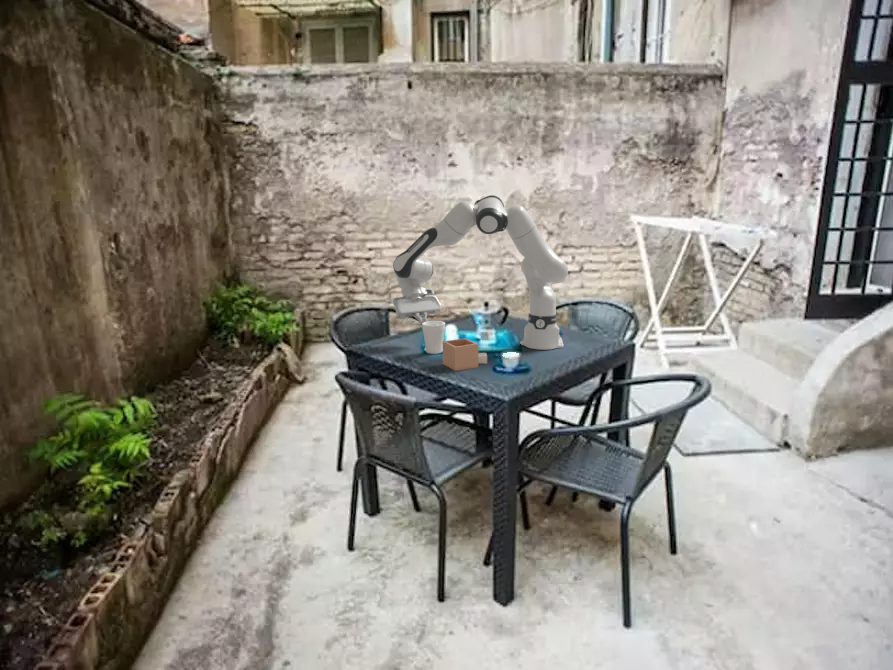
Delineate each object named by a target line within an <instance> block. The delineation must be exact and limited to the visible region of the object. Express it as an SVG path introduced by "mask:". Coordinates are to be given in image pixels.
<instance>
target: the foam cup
mask: <svg viewBox="0 0 893 670" xmlns="http://www.w3.org/2000/svg"><path fill="white" fill-rule="evenodd" d="M421 326H422V328H421V330H422V333H423V338H424V339H423V340H424V345H425V346H424V347H425V352H426V354H431V355H432V354H433V355H435V354H440V353H443V341H444V337H445V336H444V335H445V331H446V322H445V321H441V320H427V322H423V323H421Z"/></svg>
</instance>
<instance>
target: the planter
mask: <svg viewBox="0 0 893 670" xmlns="http://www.w3.org/2000/svg"><path fill="white" fill-rule="evenodd" d="M478 353H479V343H478V342H475V341H473V340H470V339H468V338H466V337H464V338H457V339H450V340H443V348H442V365H444V366H446V367H447V368H450V369H451V370H453V371H454V372H458V371H463V370H469V369H474V368H475V369H476V368H479V364H478Z"/></svg>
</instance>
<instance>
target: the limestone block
mask: <svg viewBox="0 0 893 670" xmlns="http://www.w3.org/2000/svg"><path fill="white" fill-rule="evenodd" d="M481 364H482V365H483V364H485V365H486V364H488V354H487V352H478V365H481Z"/></svg>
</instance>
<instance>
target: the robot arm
mask: <svg viewBox="0 0 893 670" xmlns="http://www.w3.org/2000/svg"><path fill="white" fill-rule="evenodd" d="M474 226H476V227H477V228H478V230H479V231H480V232H481V233H483V234H485V235H493V234H494V235H495V234H496V233H499V232H504V231H505V230H506V232H507V234H508V235H509V236H510V238H511V241H512V242H513V245H515V248H516V249H517V251H518V253H519V254H520V255H521V256H522V257H524V258H523V259H522V261H521V264H520V270H521V272H522V274H523V275H524V278H525V281H526V284H527V289H528V293H529V313H528V316H527V318H528V320H527V321H528V323H526V325H525V326H524V334H523V340H521V341H519V345H520V344H521V346H524V347H526V348H529V349H531V350H533V349H534V350H541V351H542V350H546V351H547V350H554V349H560V348H561V349H562V348H564V343H563V339H562V336H561V335H560V327H559V326H558V324H557V321H558V320H557V319H558V318H557V315H558V314H557V312H556V311H557V309H556V308H557V295H556V293H555V291H554V290H553V286H552V285H553V284H560V283H562V282H564V281H565V280H566V279H567V277H568V275H569V266H568V264H566V262H565V261H564V260H562V259H561V258H560V257H559V256H558V255H557V253H555V251H554V250H553V249H552V248H551V247H550V245H549V244H548V243H547V242H546V241H545V239H544V238H543V236H542V233H541V232H540V231H539V229H538V227H537V225H536V223H535V221H534V220H533V218H532V217H531V215H530V214H529V212H528V211H527V210H526V209H525V207H524V206H522V205H520V204H513V205H511V206H508V207H505V205H504V202H503V200H502V199H501V198H500V197H498V196H496V195H491V194H490V195H487V196H484V197H482V198H480V199H478V200H477V199H476V201H475V202H474V203H472V202H470V201H468V200H461V201H460V202H458V203H457V204H455V206H453V208H451V209H450V211H448V213H447V214H446V215H445V216H444V217H443V218H442V220H441V221H439V222H438V223H437V224H436V225H434V226H432V227H430V228H429V229H428V230H426V231H424V232H423V233H422V234H421V235H420V236H419V237H418V238H417V239H416V240H415V241H414V242H413V243H411V245H409V247H408V248H406V250H405V251H403V252H401V253H399V254H398V255H397V257H395V259H394V261H393V265H392V267H393V271H394V273H395V277H396V281H397V284H398V287H399V288H400V290H401V294H402V296H401V297H398V296H397V297H395V298H393V300H392V304H393V305H394V308H395V309H394V310H395V314H396V316H397V317H398V318H408V317H414V318H415V320H418V322H419V324H421V325H422V323H423V322H427V321H428V319H427V317H428V315H437V314H440V312H441V310H442V304H441V302H440V301H439V298H438V297H437V296H436V295H435V291H434V290H433V289H429V288H424V287H422V284H424V283H426V282H427V281H429V280H430V278H431V277H432V276H433V274H434V265H433V262H432V261H431V260H430V259H426V258H423V257H421V256H423V255H424V254H425V253H426V252H427V251H428V250H429V249H432V248H435V247H441V246H454V245H456V244H458V243H459V242H460V241H461V240H463V238H464V237H465V236H466V235H467V234H468V232H469V231H470V230H471V228H473V227H474ZM421 316H422V317H421Z"/></svg>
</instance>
